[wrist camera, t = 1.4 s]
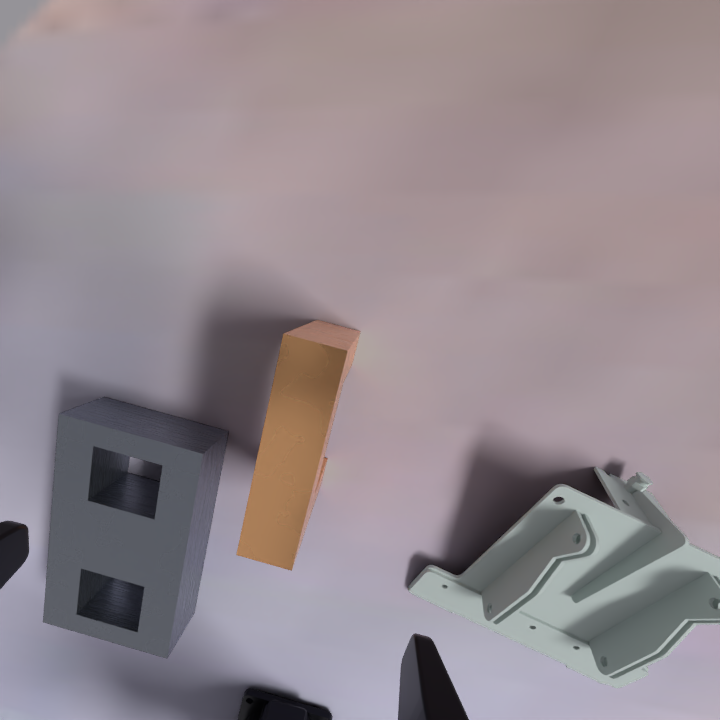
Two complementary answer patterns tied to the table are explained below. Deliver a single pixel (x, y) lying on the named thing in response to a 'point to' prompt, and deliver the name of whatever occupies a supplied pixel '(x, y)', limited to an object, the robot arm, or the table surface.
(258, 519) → the clip
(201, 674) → the table surface
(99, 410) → the slotted plate
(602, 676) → the metal bracket
